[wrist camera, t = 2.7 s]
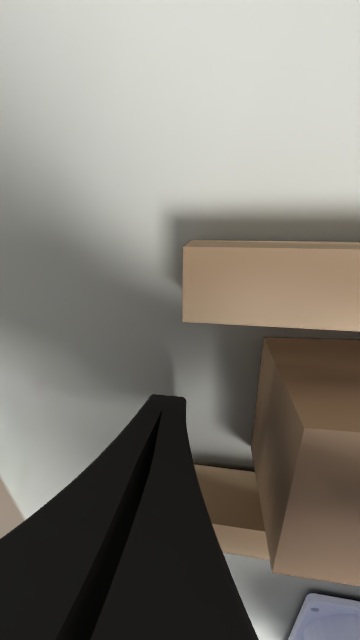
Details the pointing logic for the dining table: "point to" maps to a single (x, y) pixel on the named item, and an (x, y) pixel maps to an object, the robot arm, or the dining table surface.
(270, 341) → the tan wooden block
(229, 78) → the dining table surface
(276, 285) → the trap lane
